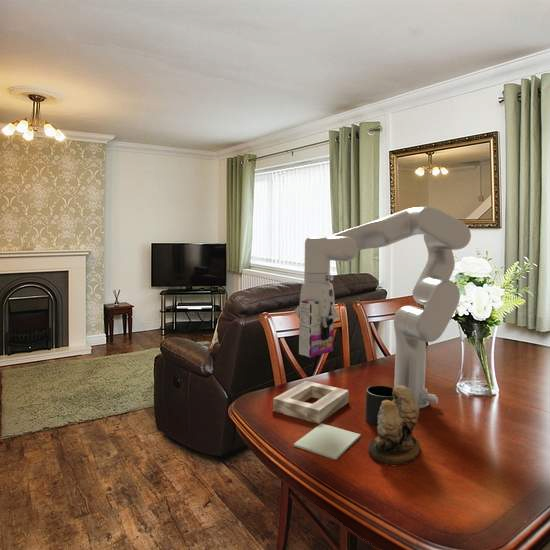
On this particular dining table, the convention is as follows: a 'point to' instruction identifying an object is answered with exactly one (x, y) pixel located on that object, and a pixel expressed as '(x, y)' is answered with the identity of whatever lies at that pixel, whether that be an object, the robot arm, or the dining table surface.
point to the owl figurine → (396, 429)
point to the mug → (376, 401)
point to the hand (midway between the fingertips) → (316, 337)
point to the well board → (315, 412)
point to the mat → (327, 441)
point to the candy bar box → (312, 330)
